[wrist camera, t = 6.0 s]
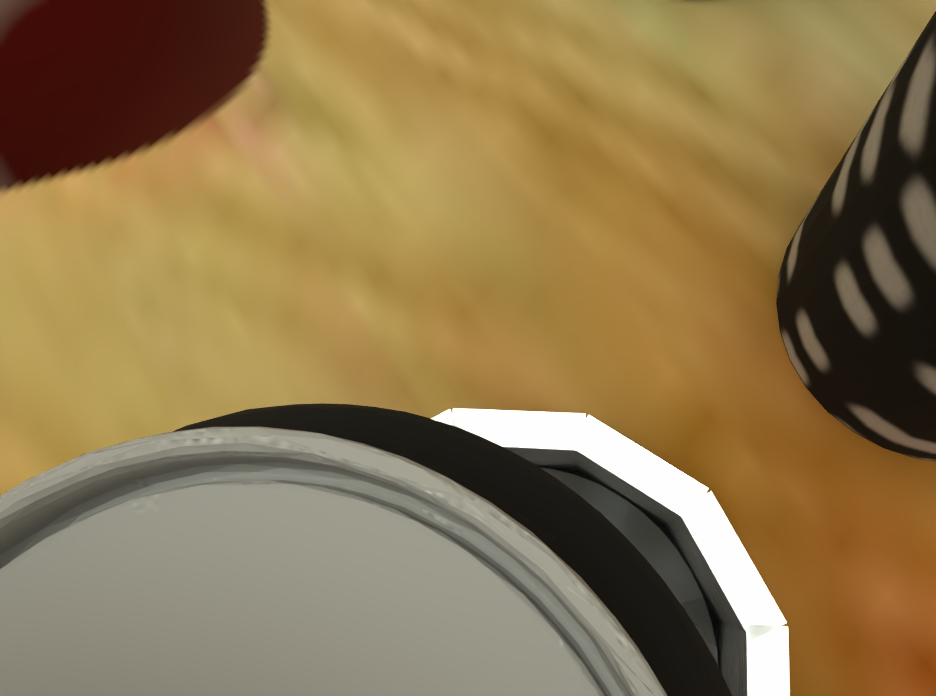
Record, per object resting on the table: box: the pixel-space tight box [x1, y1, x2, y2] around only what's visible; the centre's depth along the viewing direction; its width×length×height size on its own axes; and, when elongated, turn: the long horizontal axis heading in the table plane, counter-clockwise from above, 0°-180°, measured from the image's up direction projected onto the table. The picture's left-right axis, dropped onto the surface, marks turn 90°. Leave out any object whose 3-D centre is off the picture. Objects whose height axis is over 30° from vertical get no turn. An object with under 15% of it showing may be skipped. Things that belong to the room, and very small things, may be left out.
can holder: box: [431, 408, 790, 696], centre depth 20 cm, size 12×12×5 cm
